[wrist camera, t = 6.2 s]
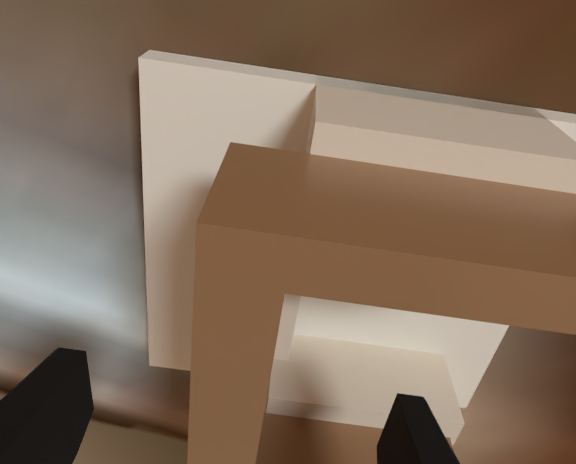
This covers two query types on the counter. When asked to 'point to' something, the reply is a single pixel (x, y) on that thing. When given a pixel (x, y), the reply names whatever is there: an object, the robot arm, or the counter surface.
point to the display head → (345, 145)
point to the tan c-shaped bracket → (353, 279)
